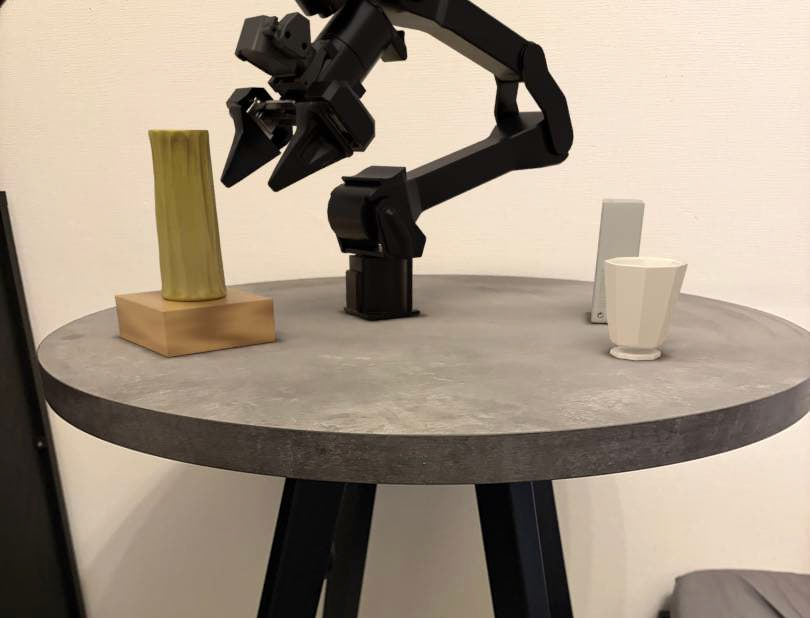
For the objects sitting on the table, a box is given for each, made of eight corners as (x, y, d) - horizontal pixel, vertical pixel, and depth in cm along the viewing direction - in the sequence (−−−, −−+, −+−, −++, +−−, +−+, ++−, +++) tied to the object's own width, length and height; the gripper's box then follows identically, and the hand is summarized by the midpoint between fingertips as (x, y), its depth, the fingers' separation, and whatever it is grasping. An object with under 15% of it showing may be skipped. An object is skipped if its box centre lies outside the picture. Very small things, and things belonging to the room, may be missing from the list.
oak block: (221, 323, 91) (218, 284, 89) (275, 341, 83) (273, 298, 81) (120, 337, 84) (114, 295, 83) (167, 357, 77) (162, 311, 75)
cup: (594, 361, 76) (603, 265, 72) (596, 338, 84) (605, 251, 81) (677, 366, 74) (691, 268, 71) (671, 342, 83) (683, 253, 80)
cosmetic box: (631, 325, 91) (645, 202, 85) (590, 323, 91) (601, 201, 86) (630, 314, 96) (642, 198, 91) (590, 313, 97) (601, 198, 92)
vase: (208, 289, 86) (193, 130, 80) (239, 297, 82) (226, 129, 76) (150, 295, 82) (130, 129, 76) (179, 304, 78) (161, 129, 72)
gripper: (236, -5, 84) (141, 120, 83) (344, -32, 71) (234, 116, 69) (308, 89, 92) (223, 205, 90) (418, 81, 79) (321, 216, 77)
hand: (246, 186), depth 82 cm, fingers open, 9 cm apart
